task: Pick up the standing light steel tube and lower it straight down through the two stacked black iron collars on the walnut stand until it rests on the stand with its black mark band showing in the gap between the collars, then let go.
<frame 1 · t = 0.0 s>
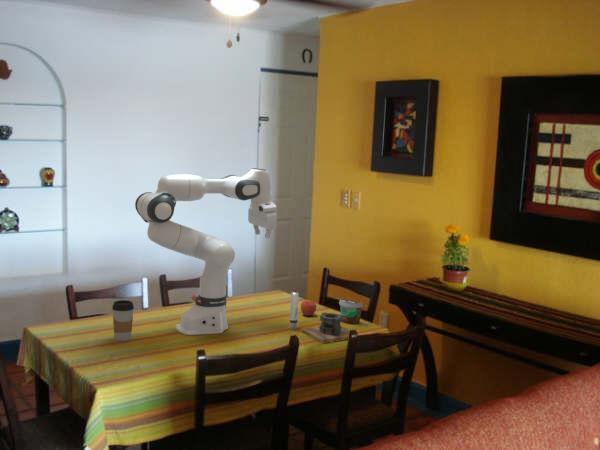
hand: (262, 236, 304), 39 cm above the table, tool pointing down, fingers open, 8 cm apart
food container: (347, 322, 315), on the table
apple: (308, 315, 323), on the table
air tube: (293, 328, 302), on the table
coffee cup: (122, 339, 277), on the table
collar stand: (330, 335, 295), on the table
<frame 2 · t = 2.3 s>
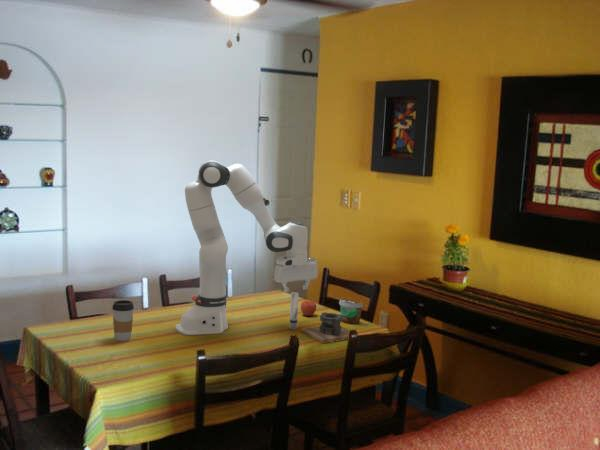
hand: (295, 290, 299), 17 cm above the table, tool pointing down, fingers open, 8 cm apart
nothing on the table moved.
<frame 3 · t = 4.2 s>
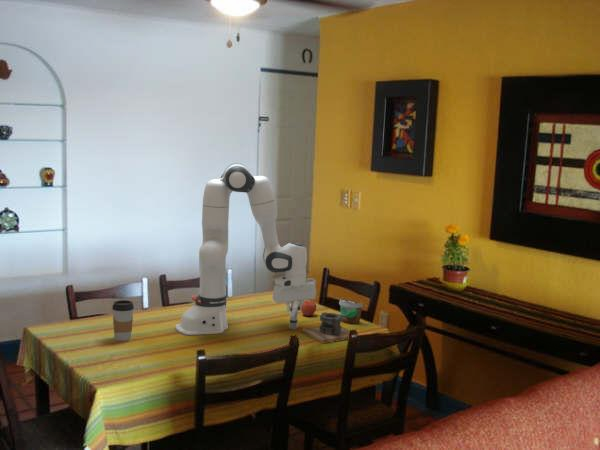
hand: (294, 310, 300), 8 cm above the table, tool pointing down, fingers closed on air tube, 3 cm apart
air tube: (293, 328, 302), on the table, touching gripper
everything else where it was.
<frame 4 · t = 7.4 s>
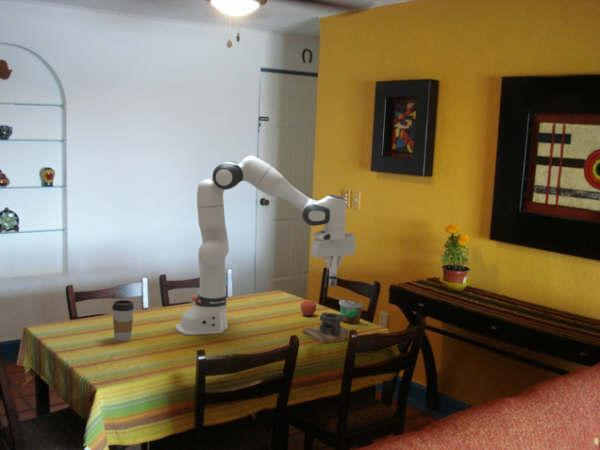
hand: (333, 266, 291), 30 cm above the table, tool pointing down, fingers closed on air tube, 3 cm apart
air tube: (332, 285, 292), point 22 cm above the table, touching gripper
everything else where it was.
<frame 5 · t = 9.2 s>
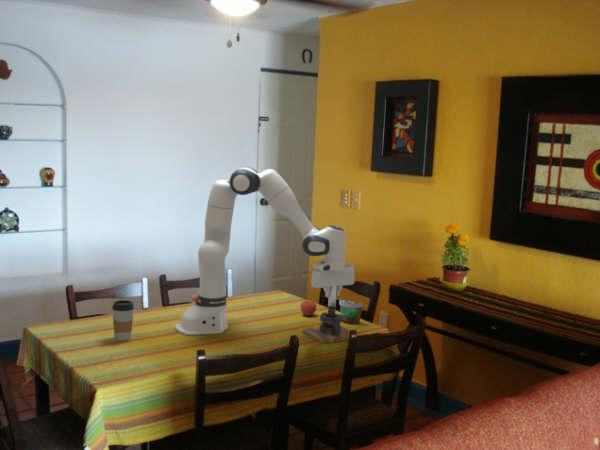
hand: (332, 296, 292), 17 cm above the table, tool pointing down, fingers closed on air tube, 3 cm apart
air tube: (331, 314, 294), point 9 cm above the table, touching gripper
everything else where it was.
when the fingers open (11 cm above the table, at t = 10.7 s): air tube drops 1 cm, resting on collar stand.
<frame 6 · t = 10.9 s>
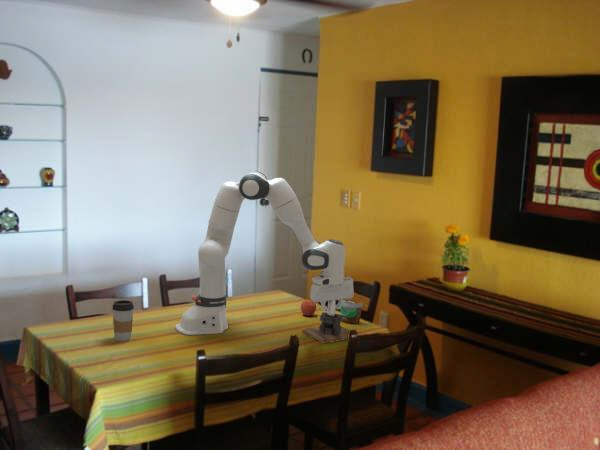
hand: (331, 310, 293), 11 cm above the table, tool pointing down, fingers open, 5 cm apart
air tube: (330, 331, 295), point 2 cm above the table, touching collar stand
everything else where it was.
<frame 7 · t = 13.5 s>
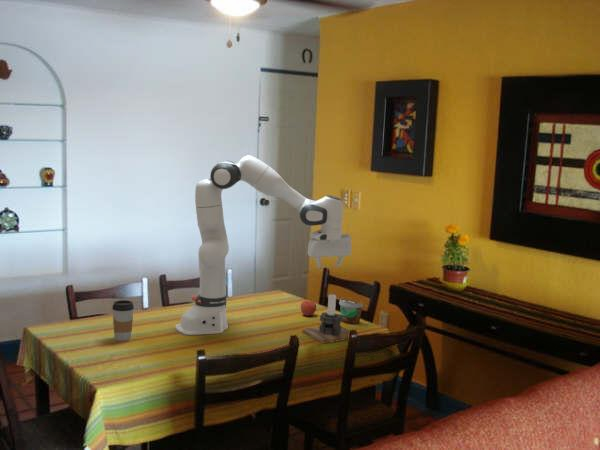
hand: (328, 266, 292), 29 cm above the table, tool pointing down, fingers open, 8 cm apart
nothing on the table moved.
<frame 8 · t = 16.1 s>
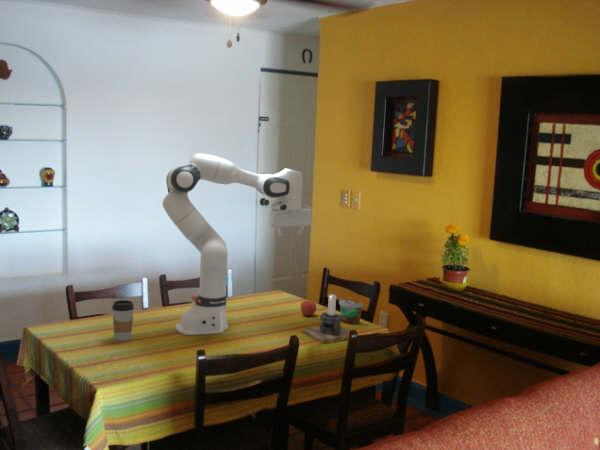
hand: (289, 236, 305), 39 cm above the table, tool pointing down, fingers open, 8 cm apart
nothing on the table moved.
at the end: air tube 0.0 cm off-centre on the collar stand, point 1.5 cm above the collar stand's base; air tube tilted 0°; the gripper is holding nothing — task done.
